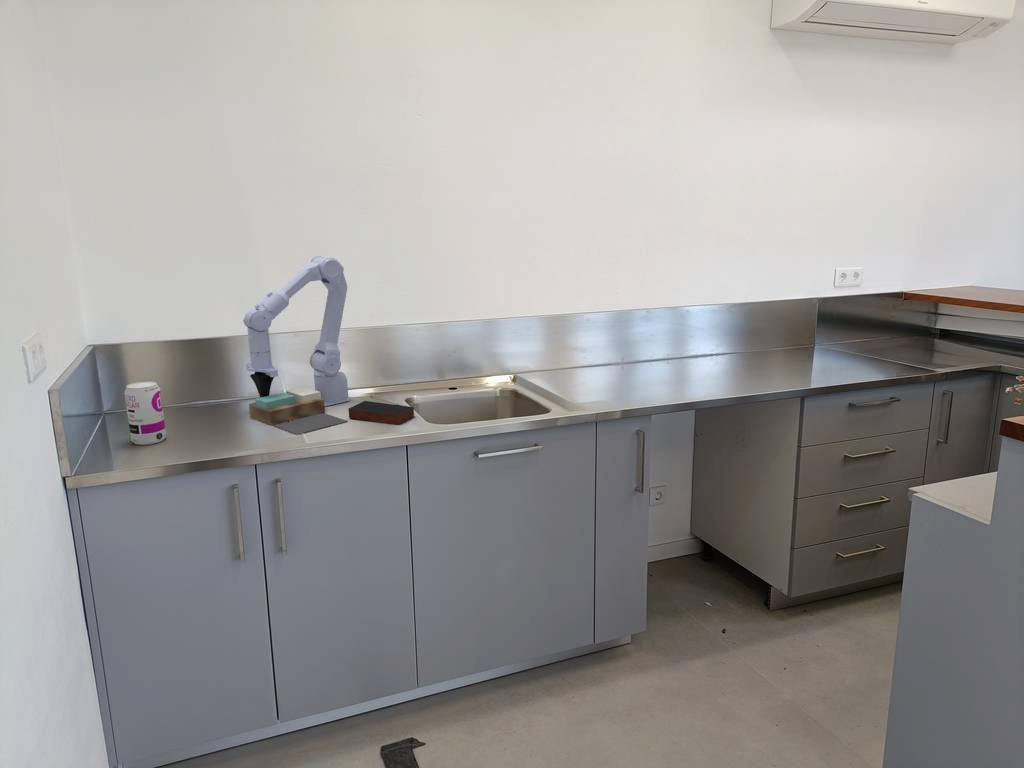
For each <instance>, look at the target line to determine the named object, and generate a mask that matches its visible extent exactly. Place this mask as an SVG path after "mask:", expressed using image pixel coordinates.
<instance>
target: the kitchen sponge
mask: <svg viewBox="0 0 1024 768" xmlns="http://www.w3.org/2000/svg"><path fill="white" fill-rule="evenodd" d="M370 398H373V399H376V400H380V401H383V402H384V403H383V402H377V401H370V400H364V401H361V402H359V403H357V404H355V405H353V406H351V407H349V408H348V418H349V419H354V420H362V421H369V422H376V423H377V422H378V423H381V424H382V423H384V424H391V425H397V426H399V425H402V424H403V423H405V422H407V421H409V420H410V419H412V418H414V417H415V409H414V408H415V407H414V406H408V405H402V404H399V403H394V402H391V401H387V400H384V399H381V398H377V397H373V396H372V395H371V396H370ZM385 402H387V403H385Z"/></svg>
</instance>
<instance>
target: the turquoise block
mask: <svg viewBox="0 0 1024 768" xmlns="http://www.w3.org/2000/svg"><path fill="white" fill-rule="evenodd" d="M254 400H255V402H254V403H256V406H259V407H261V408H264V409H270V408H275V407H279V406H284V405H288V404H292V403H295V396H293V395H290V394H287V393H286V392H280V393H276V394H275V393H274V394H272V395H270V394H269V396H265V397H261V398H260V397H257V398H255V399H254Z"/></svg>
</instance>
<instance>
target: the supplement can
mask: <svg viewBox="0 0 1024 768" xmlns="http://www.w3.org/2000/svg"><path fill="white" fill-rule="evenodd" d="M161 390H162V389H161V387H160V386H159V385H158V383H157V382H156V381H139V382H138V381H137V382H133V383H129V384H127V385H126V386H125V390H124V400H125V407H126V413H127V420H128V422H127V423H128V428H129V434H130V440H131V442H132V443H134V444H135V445H138V446H148V445H155V444H159V443H160V442H163V441H164V440H165V438H166V437H167V430H166V422H165V414H164V407H163V401H162V398H163V397H162V391H161Z"/></svg>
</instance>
